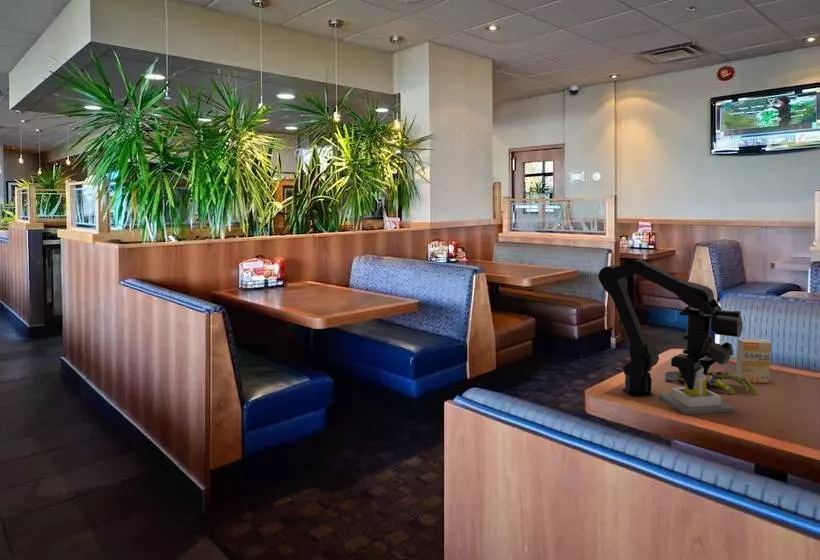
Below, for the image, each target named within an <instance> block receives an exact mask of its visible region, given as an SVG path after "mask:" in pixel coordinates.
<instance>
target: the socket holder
mask: <svg viewBox="0 0 820 560" xmlns="http://www.w3.org/2000/svg"><path fill="white" fill-rule="evenodd" d="M658 399H660V400H661V401H664V402H665V403H666V404H668V405H670V406H671V407H673V408H674V409H676V410H677V411H680V413H683V415H701V414H715V413H716V414H718V413H734V412H736V408H735V407H734V406H733V405H731V404H729V403H726V402H725V401H723V400H722V396H721V395H720V394H718V393H715V392H713V391H711V390H709V389H708V388H706V396H699V397H690V396H689V395H687V394H685V386H683V387H672V388H671V393H659V394H658Z"/></svg>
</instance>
